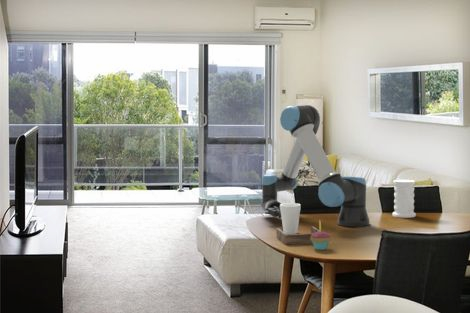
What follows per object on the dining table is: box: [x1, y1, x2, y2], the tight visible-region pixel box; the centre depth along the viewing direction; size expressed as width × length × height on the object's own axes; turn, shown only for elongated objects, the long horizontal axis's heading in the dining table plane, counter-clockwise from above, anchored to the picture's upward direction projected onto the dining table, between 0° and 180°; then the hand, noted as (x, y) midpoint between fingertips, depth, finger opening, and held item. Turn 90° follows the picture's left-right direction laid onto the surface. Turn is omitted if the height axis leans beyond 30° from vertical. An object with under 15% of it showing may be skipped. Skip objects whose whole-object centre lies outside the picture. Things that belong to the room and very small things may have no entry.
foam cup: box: [280, 202, 301, 235], centre depth 338 cm, size 10×9×13 cm
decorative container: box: [392, 179, 417, 219], centre depth 379 cm, size 12×12×18 cm
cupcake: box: [310, 220, 332, 251], centre depth 305 cm, size 9×8×12 cm
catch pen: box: [276, 226, 319, 245], centre depth 323 cm, size 16×17×4 cm
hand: (286, 216), depth 345 cm, fingers closed
